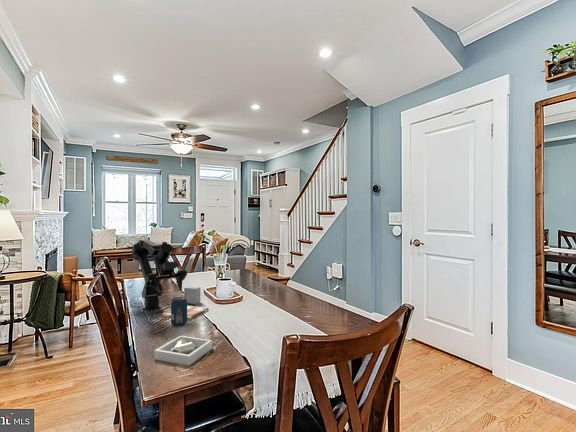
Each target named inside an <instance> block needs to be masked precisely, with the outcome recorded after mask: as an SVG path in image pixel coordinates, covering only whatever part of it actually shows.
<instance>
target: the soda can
mask: <svg viewBox="0 0 576 432" xmlns="http://www.w3.org/2000/svg"><path fill="white" fill-rule="evenodd" d="M187 306H188V303H187V300H186V297H184V296H174V297H173V298H172V299H171V302H170V310H171V318H170V324H171V326H172V327H174V328H182V327H184V326H186V324H187V323H188V320H187Z"/></svg>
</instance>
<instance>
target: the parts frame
mask: <svg viewBox="0 0 576 432" xmlns="http://www.w3.org/2000/svg"><path fill="white" fill-rule="evenodd" d="M181 339H183V340H185V341H186V342H187V343H190V342H192V343H193V344H194V345H195V347H194V348H195V350H193V351H192V352H189V353H185V354H182V353H176V352H170V350H171V349H172V348H174V347H175V345H176V343H177V342H178V341H179V340H181ZM212 349H213V340H212V339H205V338H198V337H192V336H185V335H179V336H177V337H175V338H174V339H172V340H170V341H168V342H167V343H165V344H163V345H161V346H160V347H158V348H156V349H155V350H154V354H153V355H154V360H157V361H163V362H169V363H172V364H173V363H174V364H179V365H184V366H190V365H192V364H193V363H194V362H195V361H197V360H199V359H200V358H202V356H204V355H206V354H207V353H208V352H209V351H211V350H212Z"/></svg>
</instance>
